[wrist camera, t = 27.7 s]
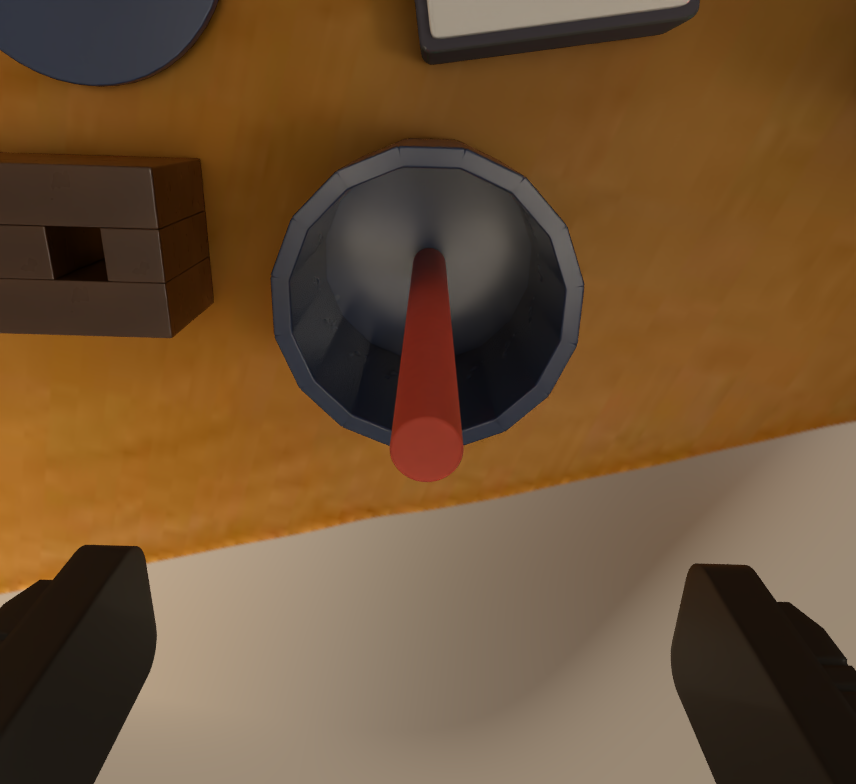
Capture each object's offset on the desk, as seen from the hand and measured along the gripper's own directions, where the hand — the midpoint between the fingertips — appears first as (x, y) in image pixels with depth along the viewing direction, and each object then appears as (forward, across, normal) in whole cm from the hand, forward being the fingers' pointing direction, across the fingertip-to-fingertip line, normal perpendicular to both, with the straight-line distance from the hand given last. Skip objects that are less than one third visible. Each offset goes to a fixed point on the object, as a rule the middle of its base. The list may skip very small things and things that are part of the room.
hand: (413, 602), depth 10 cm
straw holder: (+25, +19, -1) cm, 32 cm away
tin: (+25, 0, 0) cm, 25 cm away
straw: (+25, 0, 0) cm, 25 cm away
